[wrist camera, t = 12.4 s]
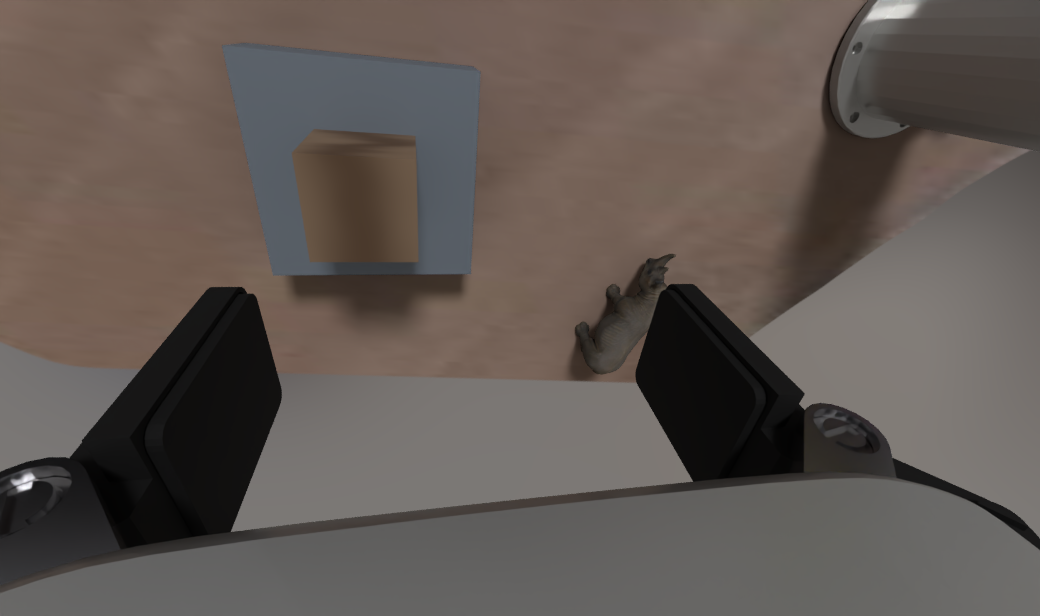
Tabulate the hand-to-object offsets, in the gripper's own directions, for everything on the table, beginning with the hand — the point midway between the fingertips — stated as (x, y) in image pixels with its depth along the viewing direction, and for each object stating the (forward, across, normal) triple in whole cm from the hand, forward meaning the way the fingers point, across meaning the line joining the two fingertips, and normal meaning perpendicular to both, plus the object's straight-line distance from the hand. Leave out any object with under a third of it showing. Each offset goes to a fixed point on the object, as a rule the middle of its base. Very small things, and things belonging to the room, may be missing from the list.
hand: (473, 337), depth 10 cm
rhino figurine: (+26, -17, +15) cm, 35 cm away
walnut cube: (+21, +5, +3) cm, 22 cm away
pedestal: (+25, +5, +3) cm, 26 cm away
